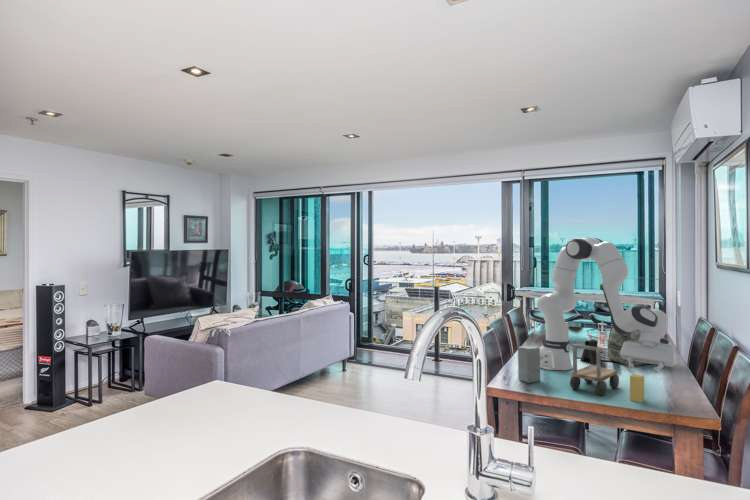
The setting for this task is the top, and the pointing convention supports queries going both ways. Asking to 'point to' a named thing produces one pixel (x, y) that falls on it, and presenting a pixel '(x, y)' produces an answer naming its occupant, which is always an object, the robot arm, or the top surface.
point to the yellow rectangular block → (637, 388)
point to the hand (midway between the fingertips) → (643, 370)
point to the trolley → (593, 372)
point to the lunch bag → (617, 343)
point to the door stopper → (590, 353)
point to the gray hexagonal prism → (529, 364)
